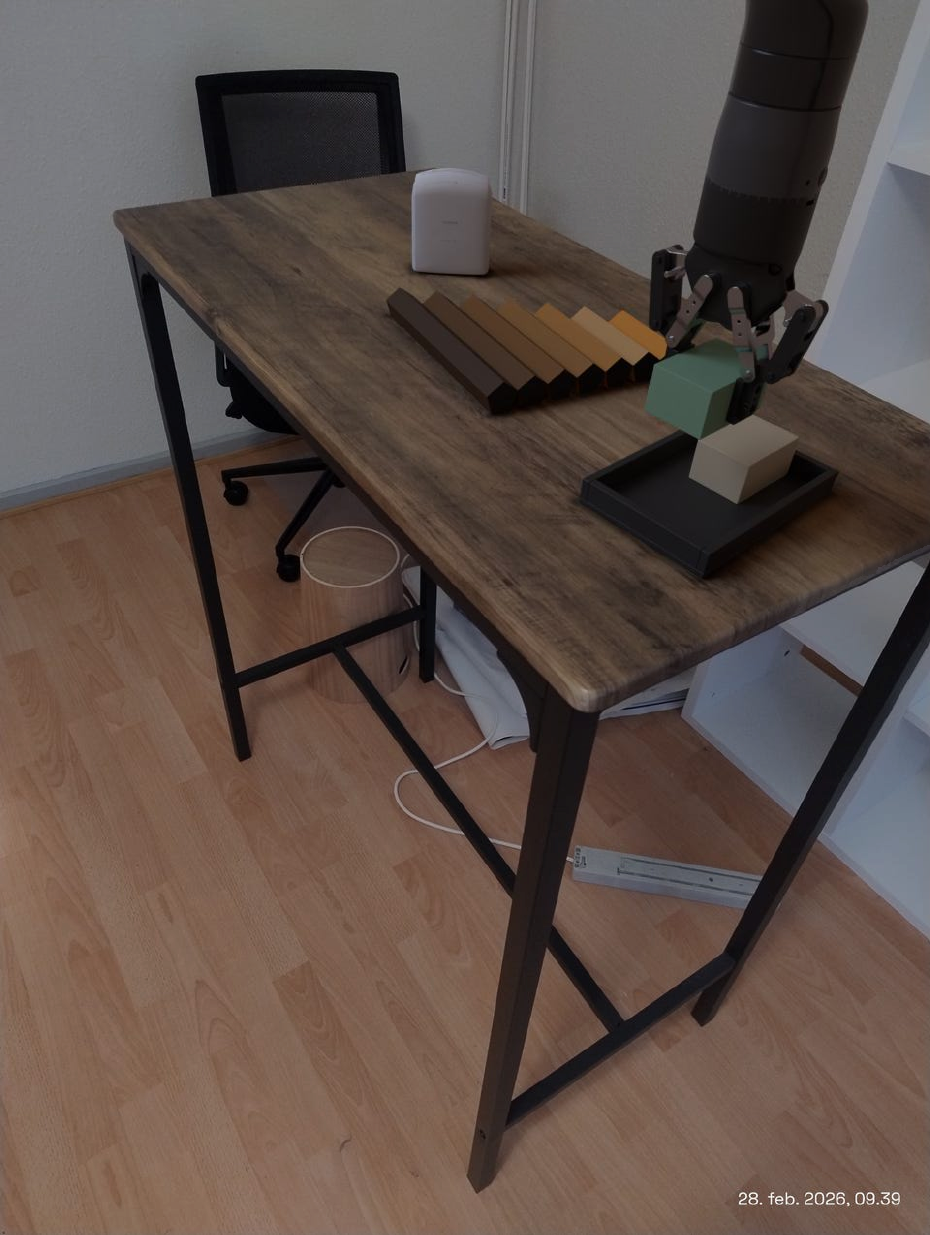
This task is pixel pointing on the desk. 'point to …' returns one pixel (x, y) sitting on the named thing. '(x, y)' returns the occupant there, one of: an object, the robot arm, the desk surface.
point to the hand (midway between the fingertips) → (704, 404)
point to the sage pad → (696, 388)
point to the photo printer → (451, 222)
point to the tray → (697, 503)
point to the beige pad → (743, 458)
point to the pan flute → (527, 348)
